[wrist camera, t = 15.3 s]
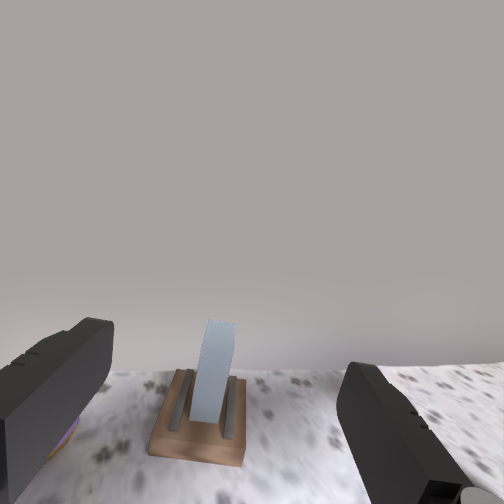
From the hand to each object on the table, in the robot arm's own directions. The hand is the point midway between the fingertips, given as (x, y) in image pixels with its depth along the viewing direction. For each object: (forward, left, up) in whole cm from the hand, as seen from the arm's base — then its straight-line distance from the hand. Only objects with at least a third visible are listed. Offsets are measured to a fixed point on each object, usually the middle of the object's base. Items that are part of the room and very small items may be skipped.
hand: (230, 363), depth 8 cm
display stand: (-4, -23, -29) cm, 37 cm away
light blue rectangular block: (-4, -23, -26) cm, 35 cm away
